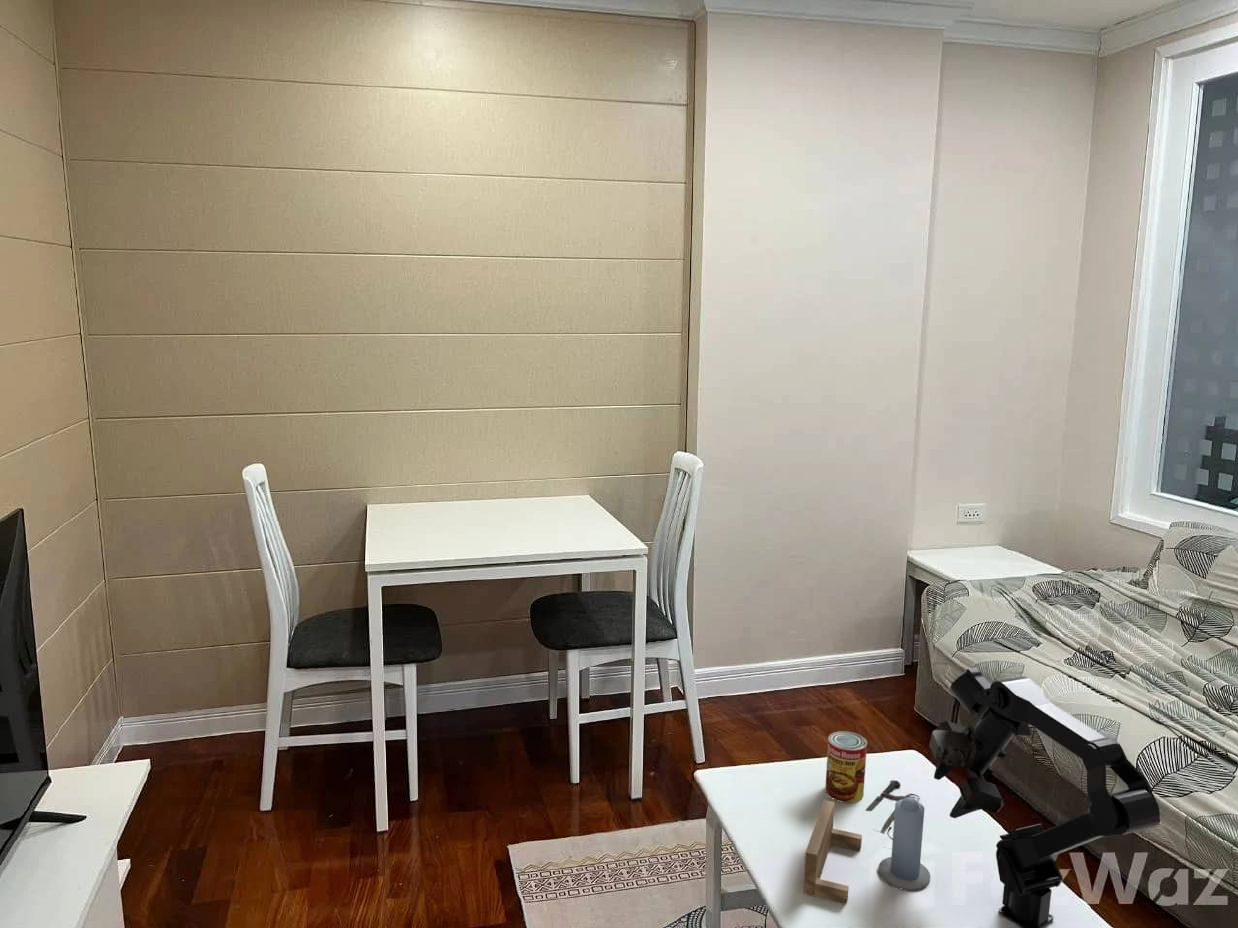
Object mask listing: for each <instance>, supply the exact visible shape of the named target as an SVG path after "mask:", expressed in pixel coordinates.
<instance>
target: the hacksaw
mask: <svg viewBox="0 0 1238 928" xmlns="http://www.w3.org/2000/svg"><path fill="white" fill-rule="evenodd" d="M900 788H901V782H899V781H898V780H895V779H894V780H893V779H892V780H890V781H889V784H888V786H887V787H886V788H885V789H884V790H883V791H882V792H881V793H880V796H879V795H878V796H876V798H875V799H874V800H873V801H872V802H871V803H870V804H869V805H868V806H867V807H866V808H865V810H866V811H865V812H873V810H874V809H875V808H876V807H877V806H878V805H879V804H880V803H881V802H882V801H883V800H884V798H888V799H889V800H891V801H892V800H896V801H898V800H901V799H904V798H907V797H912V796H915V797H917V798H918V799H917V800H916V801H917V802H919V801H920V796H919V795H917V794H915V793H909V794H905V795H904V796H903V795H893V794H891V793H892V792H893V791H894V790H896V789H900ZM894 815H895V809H893V811H892V812H891V814H889V817H888V818H887V819H886V821H884V822H885V823H884V824H883V825H882V827H881V829H880V831H879V830H876V829H874V831H876V832H878V833H880V834H883V835H885V832H886V831H887V832H886V834H887V836H888V837H889V838H890V839H891V840H892V841H893V837H891V836H890V835H889V834H890V833H889V832H890V831H891V830H892V829H893V827H892V826H891V825H892V822H893V823H894ZM854 827H855V824H854ZM883 848H886V847H883ZM888 849H890V850H892V847H890V848H888Z"/></svg>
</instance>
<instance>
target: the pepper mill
mask: <svg viewBox="0 0 1238 928" xmlns="http://www.w3.org/2000/svg"><path fill="white" fill-rule="evenodd" d="M894 810H895V815H894V820H893V828H892V829H893V830H892V831H893V832H892V839H893V840H892V846H891V856H890V857H891V872H892V874H893V875H894V876H896V877H897V878H899V879H902V880H908V881H910V880H915V879H917V878H918V877H919V872H920V863H921V857H922V846H923V844H922V843H923V831H924V821H925V819H924V818H925V806H924V805H923V804H922V803H920V802H919V801H917V800H916V799H915V798H913V797H912V796H909V797H907V798H904V799H901V800H896V802H895V805H894Z"/></svg>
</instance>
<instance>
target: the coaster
mask: <svg viewBox="0 0 1238 928" xmlns="http://www.w3.org/2000/svg"><path fill="white" fill-rule="evenodd" d="M877 870H879V871H878V874H880V875H879V876H880V877H882V878H883V879H882V878H881V879H882V880H883V881H884V880H885V881H886V882H885V881H884V882H885V883H887V884H888V885H890V886H892V885H893V886H892V887H894V886H895V887H894V888H896V887H897V889H899V888H902V889H901V890H903V889H905V891H919V890H920V891H921V890H922V889H925V888H927V887H928V886H929V884H930V881H931V873H930V871H929V870H928V868H927V867H926V866H925V865H924V864H922V863H921V862H920V872H919V877H918V878H917V879H915V880H910V881H908V880H902V879H899V878H897V877H896V876H894V875H893V874H892V872H891V856H889V857H886V858H883V859H882V860H881V861H880V862H879V864H878V868H877ZM927 885H928V886H927ZM926 886H927V887H926Z"/></svg>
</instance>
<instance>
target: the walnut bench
mask: <svg viewBox="0 0 1238 928" xmlns="http://www.w3.org/2000/svg"><path fill="white" fill-rule="evenodd" d="M834 813H835V801H831V800H830V801H829V800H825V799H823V801H822V805H821V806H820V810H819V813H818V815H817V818H816V821H815V825H814V827H813V829H812V833H811V836H810V838H809V840H808V841H809V842H808V843H807V847H806V850H805V855H804V872H803V890H802V891H803V892H802V893H803V894H806V895H809V896H812V897H817V898H821V899H825V900H828V901H829V900H830V901H833V902H837V903H840V904H844V903H845V904H844V905H847V903H848V899H849V885H845V884H842V883H837V882H833V881H830V880H826V879H823V878H821V877H822V873H823V871H824V867H825V865H826V864H825V863H826V861H827V858H828V855H829V851H830V848H831V845H832V846H836V847H840V848H845V849H849V850H853V851H858V852H861V849H862V842H863V841H862V840H863V834H859V833H856V832H850V831H847V830H842V829H837V828H834V818H835V817H834Z"/></svg>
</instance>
